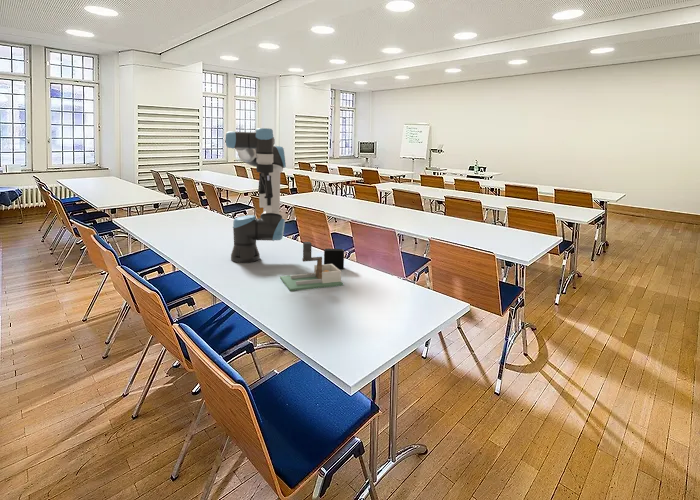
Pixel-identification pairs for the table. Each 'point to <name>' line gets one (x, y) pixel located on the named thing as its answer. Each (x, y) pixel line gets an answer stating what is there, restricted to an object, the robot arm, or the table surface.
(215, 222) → the table surface
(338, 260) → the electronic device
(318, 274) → the striker
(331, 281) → the pitch
